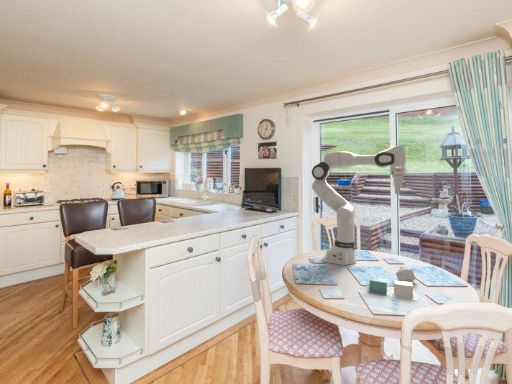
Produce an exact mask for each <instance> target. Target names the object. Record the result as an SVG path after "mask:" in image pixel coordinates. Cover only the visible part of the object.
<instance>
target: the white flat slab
mask: <svg viewBox="0 0 512 384" xmlns="http://www.w3.org/2000/svg"><path fill="white" fill-rule="evenodd" d="M369 286H370V282H368V283H367V287H366V288H367V289H366V291H367V292H366V293H367V294H373V295H378V296H379V295H380V296H384V297H385V296H386V297H391V298H398V299H403V300H405V299H406V300H411V301H418V297H417V295H416V291H415V289H413V296H407V295H400V294H395V293H394V286H392V285H391V286H390V285H387V292H380V291H373V290H369Z"/></svg>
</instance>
